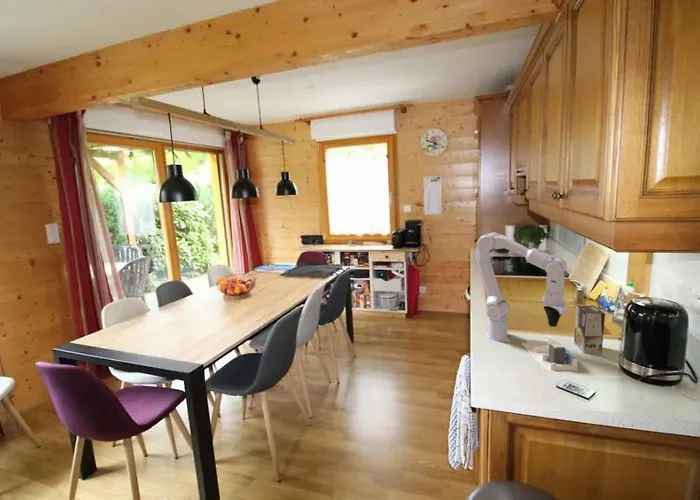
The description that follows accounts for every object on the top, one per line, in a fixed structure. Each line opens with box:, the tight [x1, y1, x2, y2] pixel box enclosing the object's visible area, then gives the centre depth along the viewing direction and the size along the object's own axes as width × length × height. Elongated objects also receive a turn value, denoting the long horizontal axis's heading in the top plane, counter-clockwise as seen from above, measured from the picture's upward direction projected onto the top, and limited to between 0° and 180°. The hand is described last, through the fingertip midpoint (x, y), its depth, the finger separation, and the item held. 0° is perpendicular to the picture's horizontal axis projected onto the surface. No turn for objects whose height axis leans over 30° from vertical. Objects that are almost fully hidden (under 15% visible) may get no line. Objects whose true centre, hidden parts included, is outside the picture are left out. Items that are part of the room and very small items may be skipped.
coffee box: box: [573, 305, 606, 355], centre depth 135 cm, size 9×6×16 cm
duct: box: [521, 334, 579, 371], centre depth 132 cm, size 21×11×4 cm, turn 175°
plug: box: [548, 342, 567, 364], centre depth 125 cm, size 4×4×7 cm
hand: (552, 325), depth 134 cm, fingers closed
